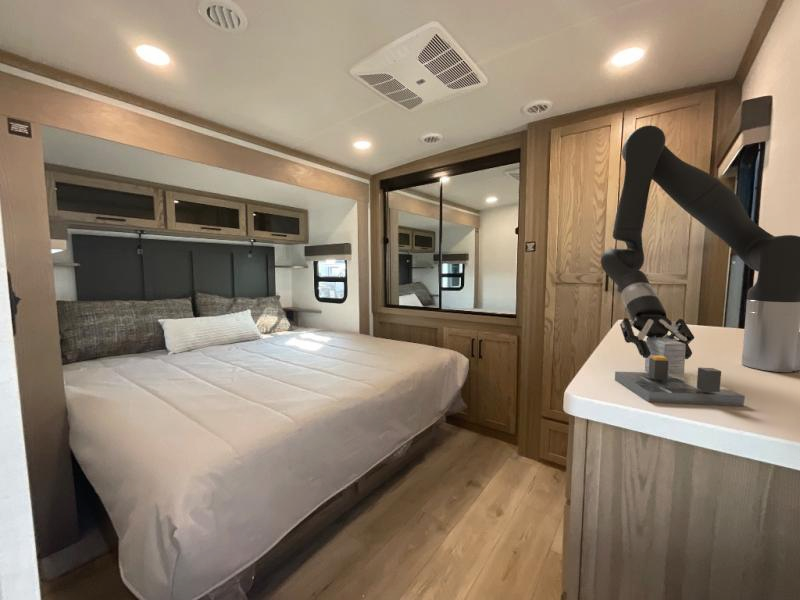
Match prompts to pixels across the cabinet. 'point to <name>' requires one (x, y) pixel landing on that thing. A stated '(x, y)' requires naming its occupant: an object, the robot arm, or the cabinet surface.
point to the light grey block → (667, 353)
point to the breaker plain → (709, 379)
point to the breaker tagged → (658, 367)
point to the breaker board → (676, 389)
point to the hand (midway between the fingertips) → (667, 356)
